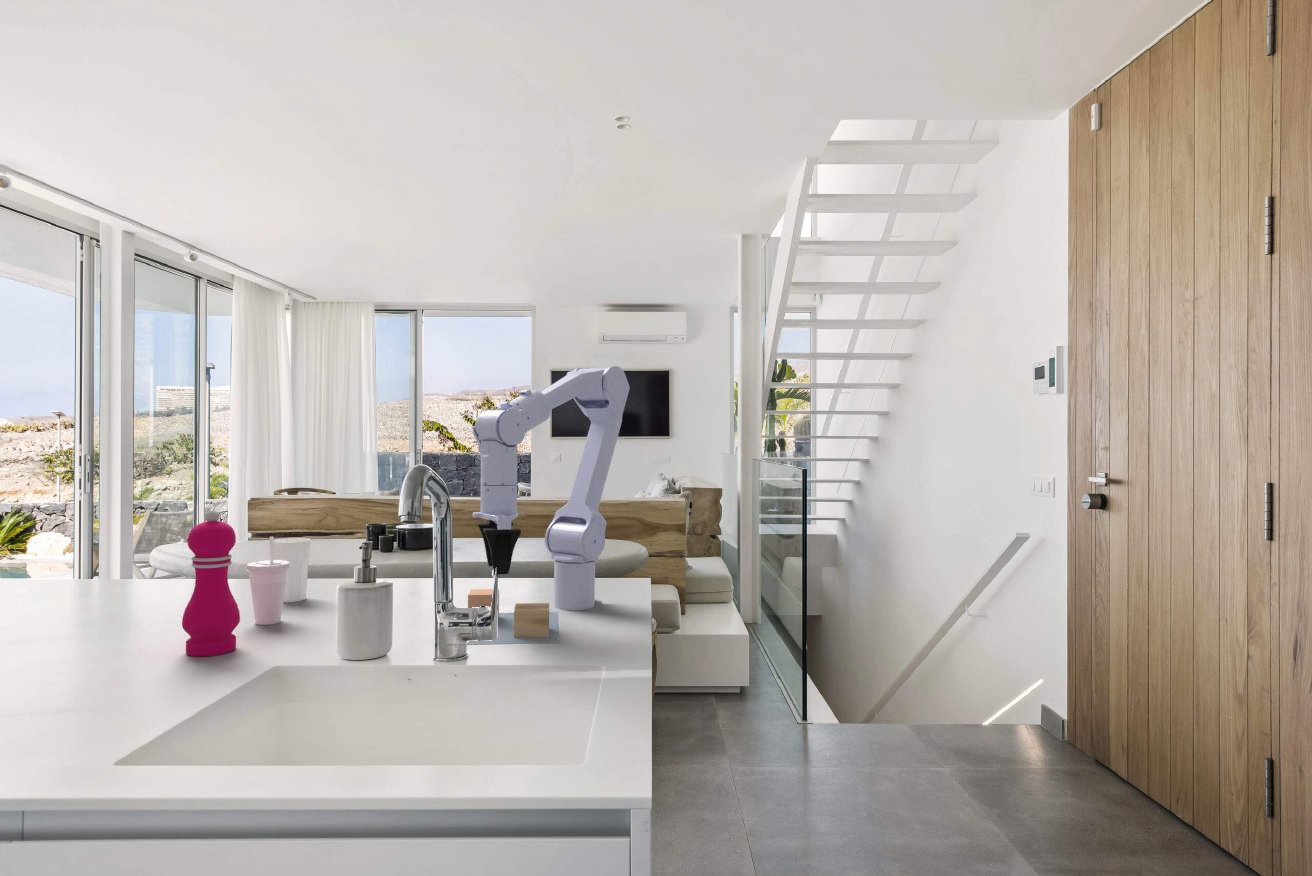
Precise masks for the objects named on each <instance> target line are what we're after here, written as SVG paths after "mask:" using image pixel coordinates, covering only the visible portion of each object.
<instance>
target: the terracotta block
mask: <svg viewBox="0 0 1312 876" xmlns="http://www.w3.org/2000/svg"><path fill="white" fill-rule="evenodd" d="M493 589H494V588H482V589H480V588H479V589H478V588H477V589H470V590H469V592H468V595H467V609H468V608H472V607H480V606H489V607H490V606H491V602H492V595H493ZM497 589H498V605H497V610H498V618H499V613H500V589H499V588H497Z"/></svg>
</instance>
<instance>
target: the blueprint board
mask: <svg viewBox="0 0 1312 876" xmlns="http://www.w3.org/2000/svg"><path fill="white" fill-rule="evenodd" d="M558 616H559V615H558V611H549V637H519V638H514V612H499V618H498V638H497V639H496V640H492V641H469V642H468V643H467V645H466V646H475V645H476V646H480V645H481V646H483V645H518V644H519V645H522V644H523V645H527V644H528V645H529V644H531V645H532V644H559V642H560V641H559V620H558V619H559V618H558Z"/></svg>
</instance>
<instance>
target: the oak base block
mask: <svg viewBox="0 0 1312 876" xmlns="http://www.w3.org/2000/svg"><path fill="white" fill-rule="evenodd" d="M549 612H550V602H532V603H531V602H530V603H529V602H527V603H526V602H525V603H517V602H516V603H515V604H514V610H513V613H514V638H519V637H549Z"/></svg>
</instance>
